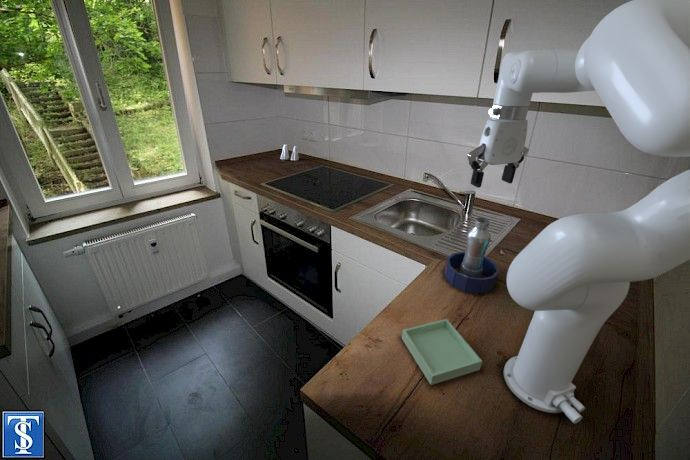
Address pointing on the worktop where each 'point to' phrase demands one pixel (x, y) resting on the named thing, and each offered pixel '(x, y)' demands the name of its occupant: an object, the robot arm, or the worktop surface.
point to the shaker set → (286, 155)
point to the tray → (440, 351)
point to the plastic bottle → (476, 248)
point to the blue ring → (471, 282)
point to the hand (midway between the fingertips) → (491, 183)
